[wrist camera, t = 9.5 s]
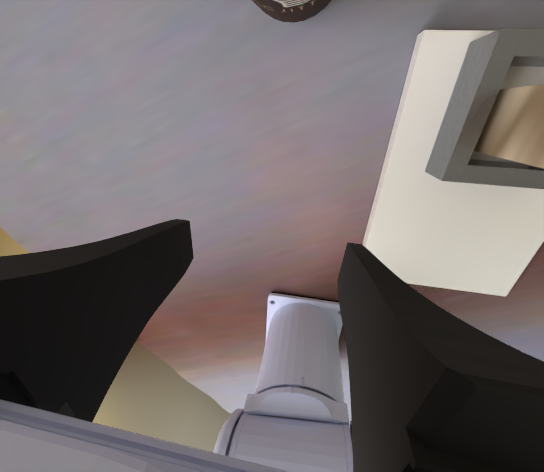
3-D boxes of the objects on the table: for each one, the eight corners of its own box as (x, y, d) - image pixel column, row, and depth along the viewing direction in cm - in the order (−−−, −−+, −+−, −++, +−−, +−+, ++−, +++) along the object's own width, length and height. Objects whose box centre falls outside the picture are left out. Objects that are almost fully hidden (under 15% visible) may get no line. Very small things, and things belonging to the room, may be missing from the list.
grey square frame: (538, 180, 15) (576, 191, 13) (424, 171, 16) (441, 180, 14) (619, 44, 12) (686, 29, 10) (470, 42, 13) (501, 28, 11)
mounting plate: (497, 288, 20) (505, 296, 20) (355, 270, 22) (357, 276, 21) (660, 38, 12) (686, 32, 11) (417, 35, 14) (424, 30, 13)
